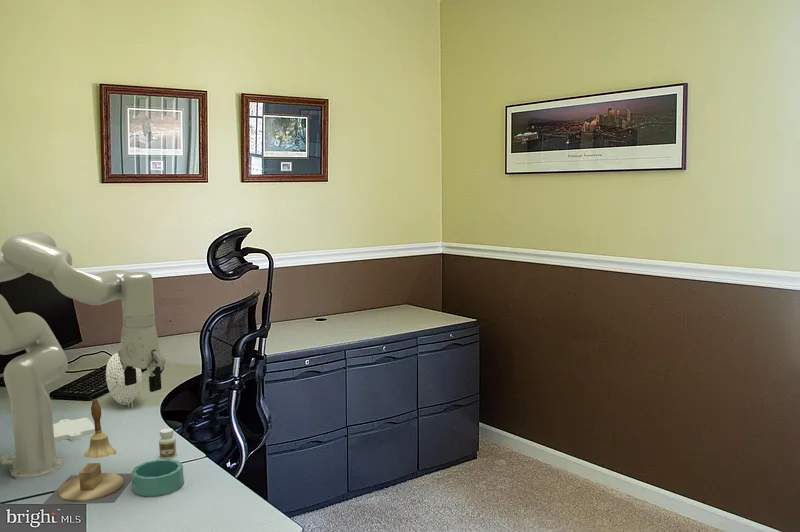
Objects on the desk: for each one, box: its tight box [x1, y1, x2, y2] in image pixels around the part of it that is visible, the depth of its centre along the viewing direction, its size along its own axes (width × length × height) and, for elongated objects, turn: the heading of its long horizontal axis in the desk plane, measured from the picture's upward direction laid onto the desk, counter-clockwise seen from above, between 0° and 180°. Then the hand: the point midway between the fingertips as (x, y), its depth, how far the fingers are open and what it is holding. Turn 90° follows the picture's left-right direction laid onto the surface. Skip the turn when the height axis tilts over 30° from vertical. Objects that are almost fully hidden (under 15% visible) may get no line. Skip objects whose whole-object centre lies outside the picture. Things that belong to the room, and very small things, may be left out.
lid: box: [58, 462, 124, 502], centre depth 187 cm, size 15×15×5 cm
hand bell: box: [84, 398, 117, 459], centre depth 210 cm, size 8×8×16 cm
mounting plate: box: [53, 417, 95, 442], centre depth 229 cm, size 18×13×2 cm
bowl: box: [130, 458, 185, 497], centre depth 187 cm, size 12×12×5 cm
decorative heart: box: [105, 352, 143, 409], centre depth 253 cm, size 18×11×17 cm, turn 35°
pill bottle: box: [158, 427, 177, 460], centre depth 207 cm, size 4×4×8 cm
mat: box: [41, 472, 132, 506], centre depth 187 cm, size 17×17×1 cm
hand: (143, 387), depth 191 cm, fingers open, 9 cm apart
